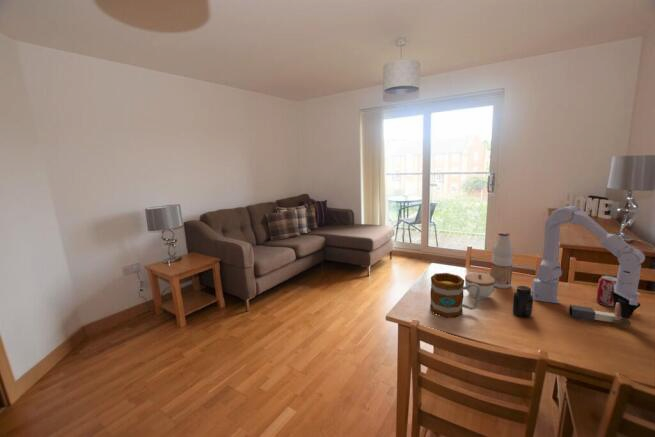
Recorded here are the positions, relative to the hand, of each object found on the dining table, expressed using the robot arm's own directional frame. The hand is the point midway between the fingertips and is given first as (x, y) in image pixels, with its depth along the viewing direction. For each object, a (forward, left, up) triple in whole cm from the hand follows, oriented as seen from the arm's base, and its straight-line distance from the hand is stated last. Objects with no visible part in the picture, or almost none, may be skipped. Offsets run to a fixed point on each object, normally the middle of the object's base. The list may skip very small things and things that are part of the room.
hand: (621, 313), depth 111 cm
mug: (-59, -14, -4) cm, 61 cm away
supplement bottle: (-33, -6, -4) cm, 34 cm away
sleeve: (-12, 0, -4) cm, 13 cm away
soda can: (+1, +18, -4) cm, 19 cm away
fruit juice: (-39, +23, -4) cm, 45 cm away
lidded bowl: (-49, +6, -4) cm, 49 cm away
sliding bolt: (-5, 0, -4) cm, 6 cm away
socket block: (-1, 0, -4) cm, 4 cm away
